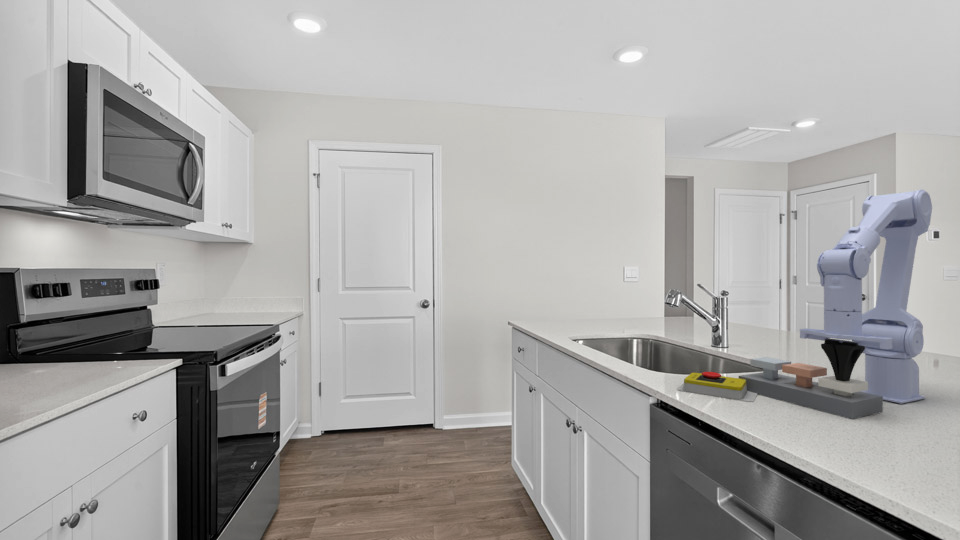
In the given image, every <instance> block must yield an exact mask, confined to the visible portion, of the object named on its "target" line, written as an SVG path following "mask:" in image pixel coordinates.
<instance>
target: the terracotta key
mask: <svg viewBox="0 0 960 540" xmlns="http://www.w3.org/2000/svg"><path fill="white" fill-rule="evenodd" d="M781 373H786V374H789V375H794V376H795V378H796V385H798V386H803V387H812V381H813V378H817V377H819V378H820V377H824V376H825V377H827V376H828V368H827V367H822V366H817V365H814V364H813V365H811V364H806V363H801V362H797V363H796V362H795V363H791V364H786V365H782V370H781Z"/></svg>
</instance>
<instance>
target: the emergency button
mask: <svg viewBox="0 0 960 540" xmlns="http://www.w3.org/2000/svg"><path fill="white" fill-rule="evenodd" d="M676 391H679V392H683V393H690V394H697V395H701V396H702V395H703V396H708V397H714V398H720V399H726V400H734V401H739V402H746V403H754V402H755V401H756V400H757V399H756V398H757V397H758V395H759V394H757V393H754V392H750V391H747V386H746V380H745V379H740V378H739V377H738V378H737V377H733V376H732V377H731V376H722V374H721V373H718V372H714V371H704V372H699V373H698V372H691V373H690V374H689V375H687V376H686V377H685V378H684V379H683V383H682V384H680V386H678V387H677V388H676Z"/></svg>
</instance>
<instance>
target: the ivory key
mask: <svg viewBox="0 0 960 540" xmlns="http://www.w3.org/2000/svg"><path fill="white" fill-rule="evenodd" d="M817 382H818V386H821V387H826V388H830V389H834V394H838V395H842V396H852V393H854V392H860V391H865V390H868V382H865V380H864V381H863V380H859V379H854V378H850V381H839V380H836V378H835V375H831V376H825V377H824V376H823V377H819V378H818V381H817Z"/></svg>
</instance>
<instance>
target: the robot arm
mask: <svg viewBox="0 0 960 540" xmlns="http://www.w3.org/2000/svg"><path fill="white" fill-rule="evenodd" d="M861 208H862V209H861V212H862V216H863V217H862V218H861V220H860V222H859V223H858V225H857V226H853V227H849V229H847V230H846V232H845V233H844V234H843V235H842V236H841V238H840V239H839V240H838V241H837V243H836V244H835V245H834V246H833V248H832V249H827V250H825V251H824V252H822V253H820V255H819V256H818V258H817V263H816V269H817V272H818V275H819V278H820V282H819V283H820V285H821V287H823V329H815V328H800V329H799V338H800V339H806V340H807V339H809V340H816V341H824V342H823V343H821V344H820V346H821V350H822V351H823V352H824V354H825V356H826V357H827V358H828V361H829V363H830V365H831V367H832V370H833V375H834V376H835V378H836V380H839V381H850V379H851V378H852V373H853V370H854V367H855V366H856V363H857V361H858V360H859V358H860V356H861V355H862V354H864V367H865V368H864V381H865V382H868V390H865V391H860V392H865V393H869V394H874V395H879V396H883V401H887V402H893V403H896V404H907V403H910V402H915V401H920V400H925V399H926V395H921V394H920V367H919V365H918V363H917V361H915V360H914V358H916V357H917V356H918V355H920V354H921V353H922V350H923V347H924V343H925V341H924V333H923V332H924V331H923V330H924V325H923V324H922V322H921V320H920V319H919V318H917V317H916V316H914V315H913V314H911V313H910V312H908V311H907V309H908V303H909V296H910V289H911V283H912V276H913V269H914V262H915V258H916V257H915V256H916V249H917V245H918V239H919V237H920V236H921V235H923V234H925V233H927V232H929V228H930V227H929V226H930V225H931V218H932V211H933V204H932V199H931V196H930V193H929V192H927V191H926V189H922V188H920V189H917V190H913V191H912V190H911V191H904V192H903V191H902V192H895V193H888V194H886V193H885V194H880V195H868V196H867V197H866V198H865V199H864V201H863V202H862V207H861ZM881 238H884V240H885V246H884V252H883V258H882V264H881V270H880V277H879V284H878V290H877V296H876V302H875V307H873V308H872V309H870V310H867V311H866V312H864V313H863V279H865V277H866V276H867V275H868V274H869V269H870V264H871V262H872V261H871V260H872V259H871V256H872V255H873V253H874V252H875V251H876V249H877V248H878V246H879V245H880V243H881Z"/></svg>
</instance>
